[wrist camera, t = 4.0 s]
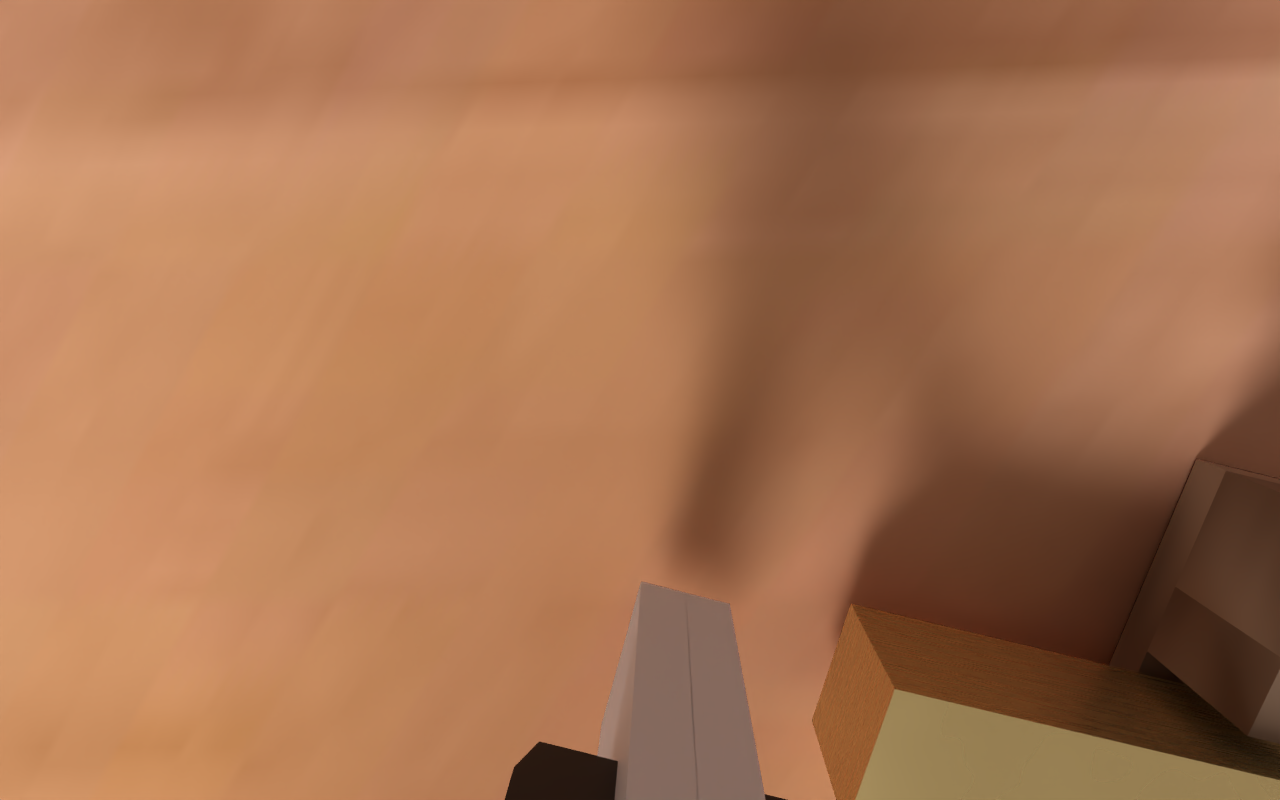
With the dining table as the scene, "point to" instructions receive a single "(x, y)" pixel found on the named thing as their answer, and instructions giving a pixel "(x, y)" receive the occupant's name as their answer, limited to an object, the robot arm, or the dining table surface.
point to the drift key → (1018, 724)
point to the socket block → (1216, 599)
